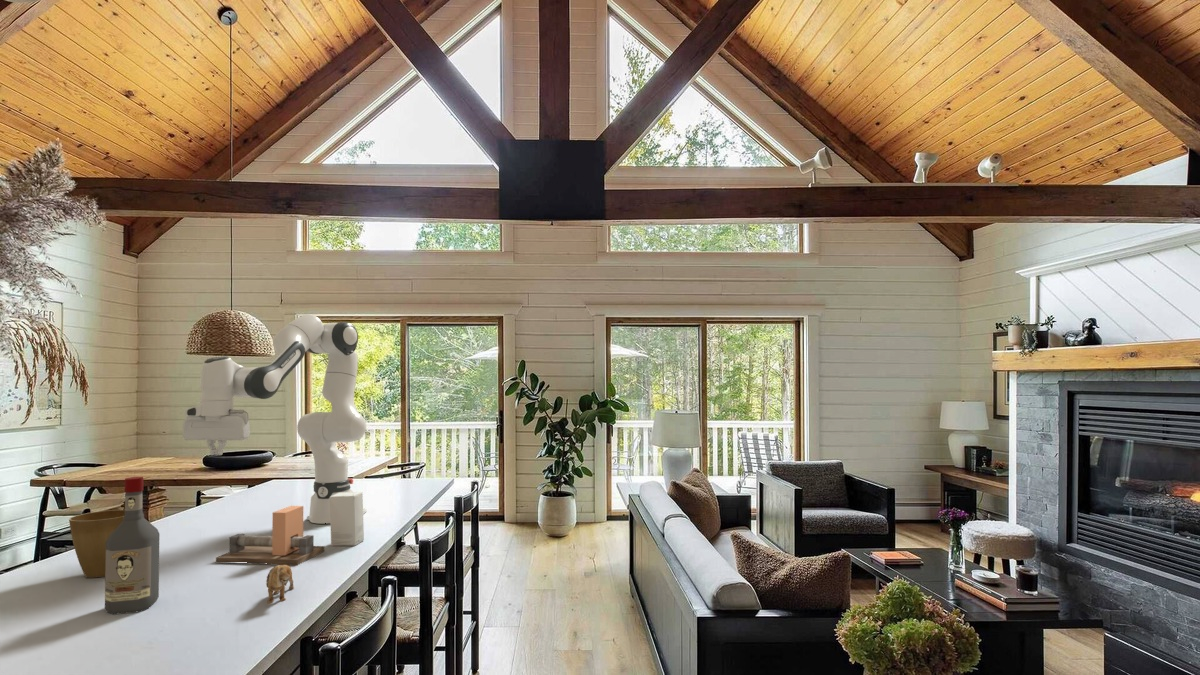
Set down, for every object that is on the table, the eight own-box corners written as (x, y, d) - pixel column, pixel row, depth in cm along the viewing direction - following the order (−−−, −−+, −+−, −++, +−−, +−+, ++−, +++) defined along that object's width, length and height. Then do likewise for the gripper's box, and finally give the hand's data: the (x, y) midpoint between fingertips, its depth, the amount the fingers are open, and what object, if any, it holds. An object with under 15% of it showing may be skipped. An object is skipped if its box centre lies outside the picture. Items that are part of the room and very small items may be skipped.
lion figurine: (289, 605, 156) (289, 566, 157) (264, 608, 155) (264, 569, 155) (295, 586, 170) (295, 550, 171) (272, 588, 168) (272, 552, 169)
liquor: (117, 602, 160) (119, 476, 161) (161, 598, 162) (163, 473, 163) (100, 616, 151) (103, 482, 152) (147, 611, 153) (149, 480, 155)
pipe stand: (247, 549, 205) (247, 529, 205) (324, 551, 201) (324, 531, 202) (215, 562, 191) (216, 541, 191) (297, 565, 188) (297, 543, 188)
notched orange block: (290, 546, 200) (290, 505, 201) (303, 546, 200) (303, 506, 200) (272, 555, 191) (272, 512, 192) (285, 555, 191) (285, 512, 191)
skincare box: (364, 540, 213) (364, 491, 214) (354, 546, 206) (354, 495, 207) (339, 540, 214) (339, 491, 214) (328, 546, 207) (329, 495, 208)
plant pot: (142, 572, 182) (143, 513, 183) (73, 586, 171) (74, 523, 172) (128, 562, 192) (129, 506, 193) (63, 574, 182) (64, 515, 182)
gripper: (254, 408, 206) (254, 453, 206) (194, 409, 209) (194, 453, 208) (241, 410, 200) (241, 456, 199) (179, 410, 203) (178, 456, 202)
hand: (216, 455), depth 204 cm, fingers closed
